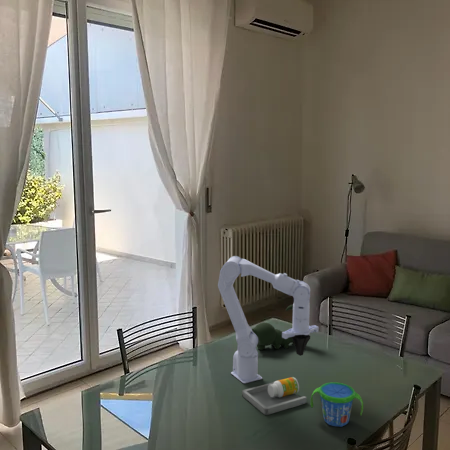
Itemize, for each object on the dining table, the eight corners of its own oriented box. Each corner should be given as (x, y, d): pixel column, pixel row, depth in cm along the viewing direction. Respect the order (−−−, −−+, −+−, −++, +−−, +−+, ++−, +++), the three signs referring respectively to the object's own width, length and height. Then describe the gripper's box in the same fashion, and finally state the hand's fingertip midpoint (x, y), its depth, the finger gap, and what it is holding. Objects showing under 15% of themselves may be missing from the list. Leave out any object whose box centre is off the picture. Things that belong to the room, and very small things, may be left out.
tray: (242, 396, 169) (242, 390, 168) (281, 385, 176) (281, 380, 176) (265, 415, 157) (265, 409, 156) (306, 403, 164) (306, 397, 164)
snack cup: (306, 423, 152) (307, 392, 151) (315, 407, 162) (316, 377, 160) (358, 436, 146) (360, 403, 144) (364, 418, 155) (366, 387, 154)
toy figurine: (295, 344, 218) (241, 345, 210) (300, 301, 216) (245, 301, 208) (305, 352, 210) (249, 354, 201) (310, 308, 207) (254, 308, 199)
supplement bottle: (301, 388, 167) (277, 394, 162) (295, 395, 170) (271, 402, 166) (294, 373, 170) (270, 379, 166) (288, 381, 174) (264, 387, 169)
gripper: (291, 324, 168) (290, 362, 170) (324, 317, 175) (323, 354, 177) (278, 317, 174) (277, 355, 176) (311, 311, 181) (310, 347, 184)
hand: (299, 354), depth 177 cm, fingers closed
